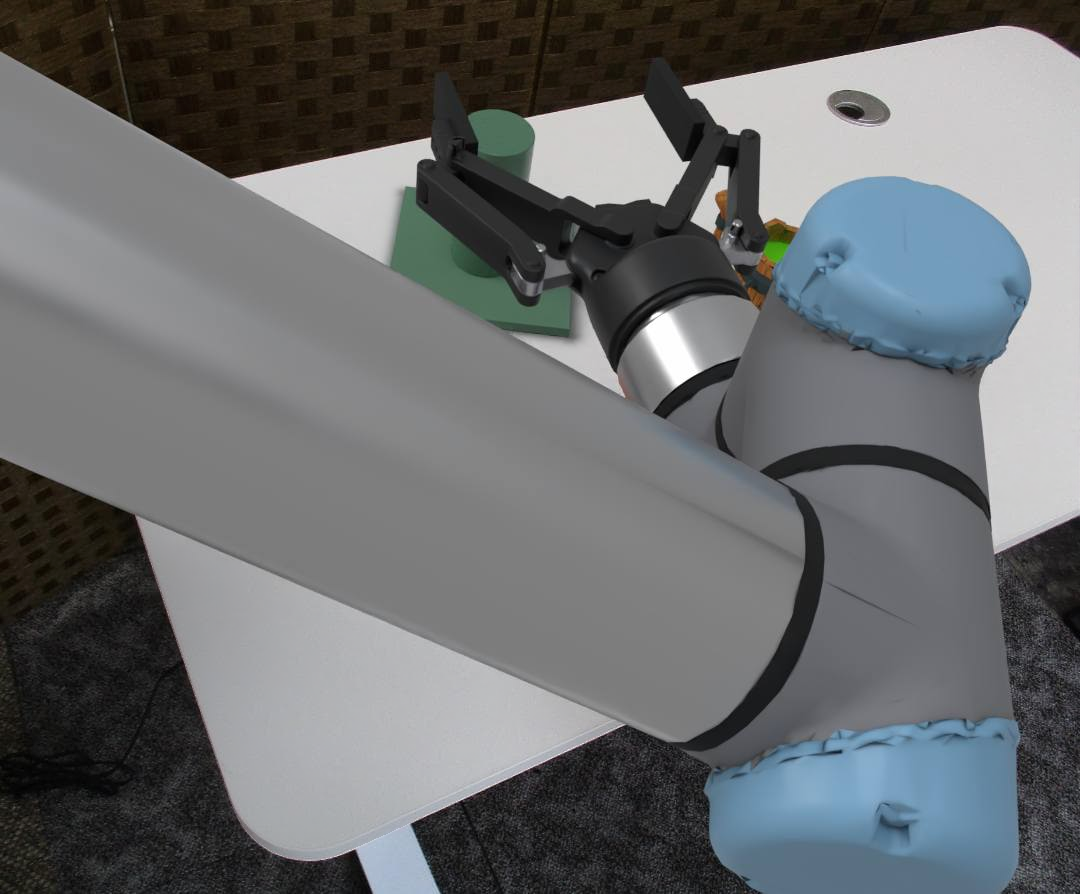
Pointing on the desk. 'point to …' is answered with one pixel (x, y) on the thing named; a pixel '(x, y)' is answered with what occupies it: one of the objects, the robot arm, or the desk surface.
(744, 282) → the mug
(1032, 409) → the desk surface
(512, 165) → the green tin
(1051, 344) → the desk surface
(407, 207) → the green mat
